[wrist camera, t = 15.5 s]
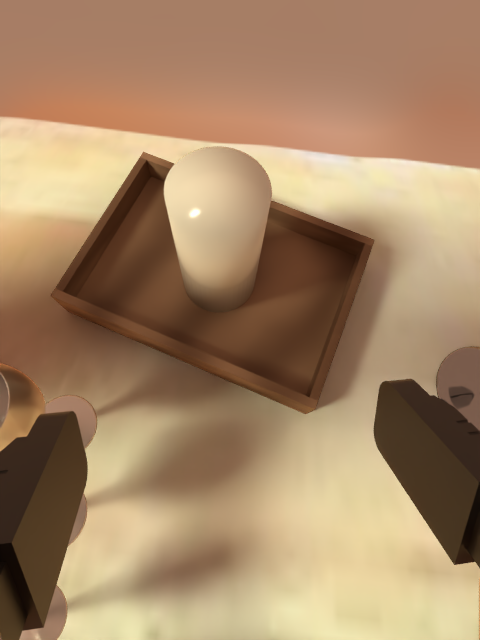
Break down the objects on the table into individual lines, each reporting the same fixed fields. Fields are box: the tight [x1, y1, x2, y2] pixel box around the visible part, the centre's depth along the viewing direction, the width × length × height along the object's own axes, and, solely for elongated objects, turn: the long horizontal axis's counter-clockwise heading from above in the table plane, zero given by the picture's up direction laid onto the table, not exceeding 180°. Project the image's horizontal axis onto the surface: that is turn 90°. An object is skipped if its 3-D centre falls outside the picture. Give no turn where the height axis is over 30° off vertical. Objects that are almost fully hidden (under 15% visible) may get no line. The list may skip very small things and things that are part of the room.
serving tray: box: [51, 152, 374, 414], centre depth 30 cm, size 20×14×3 cm
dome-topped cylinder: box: [164, 147, 272, 312], centre depth 25 cm, size 6×6×11 cm
